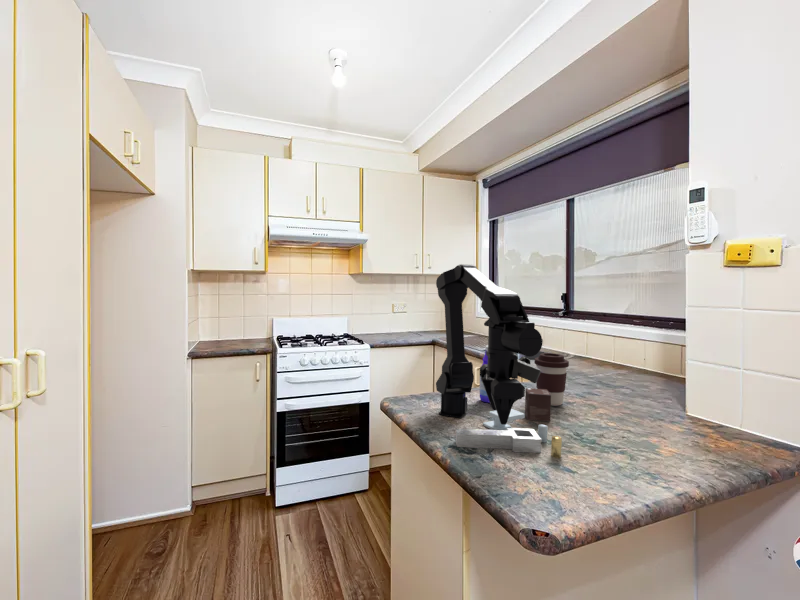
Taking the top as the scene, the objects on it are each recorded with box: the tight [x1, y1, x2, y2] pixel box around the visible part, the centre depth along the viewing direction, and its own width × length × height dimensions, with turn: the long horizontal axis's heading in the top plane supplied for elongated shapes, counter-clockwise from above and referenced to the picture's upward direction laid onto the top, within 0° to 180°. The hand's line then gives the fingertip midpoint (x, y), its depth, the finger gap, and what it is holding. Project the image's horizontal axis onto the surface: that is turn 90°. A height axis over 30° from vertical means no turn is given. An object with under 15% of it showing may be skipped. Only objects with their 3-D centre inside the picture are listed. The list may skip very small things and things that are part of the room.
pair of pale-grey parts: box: [482, 407, 548, 443], centre depth 95 cm, size 16×10×5 cm, turn 68°
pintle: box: [550, 435, 563, 459], centre depth 82 cm, size 2×2×4 cm
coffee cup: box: [534, 352, 570, 407], centre depth 119 cm, size 10×10×15 cm
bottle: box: [479, 344, 490, 404], centre depth 119 cm, size 7×6×17 cm
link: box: [455, 427, 542, 454], centre depth 87 cm, size 18×6×3 cm, turn 88°
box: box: [524, 387, 552, 422], centre depth 106 cm, size 6×6×7 cm
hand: (498, 416), depth 87 cm, fingers open, 9 cm apart
